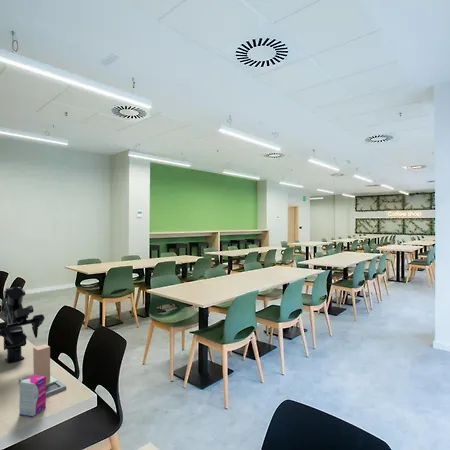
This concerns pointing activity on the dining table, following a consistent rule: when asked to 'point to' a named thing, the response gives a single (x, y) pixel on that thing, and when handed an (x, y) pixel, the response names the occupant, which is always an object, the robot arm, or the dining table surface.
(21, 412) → the supplement box
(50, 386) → the tray
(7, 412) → the dining table surface
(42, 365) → the tan tall block
